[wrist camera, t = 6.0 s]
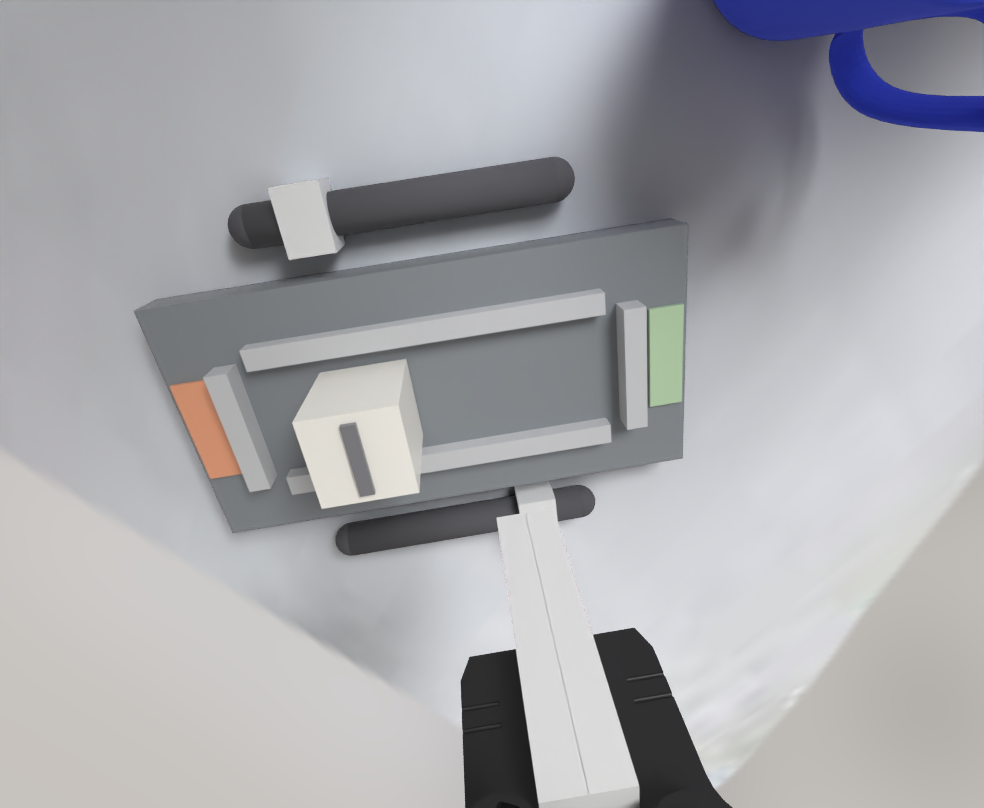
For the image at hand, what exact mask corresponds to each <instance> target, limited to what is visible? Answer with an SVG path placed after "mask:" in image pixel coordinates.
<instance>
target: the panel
mask: <svg viewBox="0 0 984 808" xmlns="http://www.w3.org/2000/svg"><path fill="white" fill-rule="evenodd" d="M687 255H688V224H687V223H683V222H680V221H676V220H673V219H665V220H659V221H653V222H646V223H640V224H633V225H627V226H621V227H614V228H608V229H602V230H595V231H589V232H583V233H576V234H570V235H563V236H557V237H551V238H544V239H538V240H532V241H525V242H519V243H513V244H506V245H500V246H493V247H487V248H481V249H474V250H468V251H462V252H455V253H449V254H442V255H436V256H430V257H423V258H417V259H411V260H404V261H398V262H392V263H385V264H379V265H372V266H366V267H360V268H353V269H347V270H341V271H334V272H328V273H321V274H315V275H309V276H302V277H296V278H290V279H283V280H277V281H271V282H264V283H258V284H251V285H245V286H239V287H232V288H226V289H220V290H213V291H207V292H200V293H194V294H188V295H181V296H175V297H169V298H162V299H156V300H154V301H152V302H151V303H149V304H147V305H145V306H143V307H141V308H139V309H137V310H135V311H134V313H135V315H136V317H137V319H138V322H139V324H140V326H141V328H142V331H143V333H144V335H145V337H146V340H147V342H148V344H149V346H150V349H151V351H152V353H153V355H154V358H155V360H156V362H157V364H158V367H159V369H160V371H161V373H162V376H163V378H164V380H165V382H166V385H167V387H168V389H169V391H170V393H171V396H172V398H173V400H174V402H175V405H176V407H177V409H178V411H179V414H180V416H181V418H182V420H183V423H184V425H185V427H186V429H187V432H188V434H189V436H190V438H191V441H192V443H193V445H194V447H195V450H196V452H197V454H198V456H199V459H200V461H201V463H202V465H203V468H204V470H205V472H206V474H207V476H208V479H209V481H210V483H211V485H212V488H213V490H214V492H215V494H216V497H217V499H218V501H219V503H220V506H221V508H222V510H223V512H224V515H225V517H226V519H227V521H228V524H229V526H230V528H231V530H232V533H236V532H242V531H248V530H254V529H260V528H266V527H272V526H278V525H284V524H290V523H296V522H302V521H308V520H314V519H320V518H326V517H332V516H338V515H344V514H350V513H356V512H362V511H368V510H374V509H380V508H386V507H392V506H398V505H404V504H410V503H416V502H422V501H428V500H435V499H441V498H447V497H453V496H459V495H465V494H471V493H477V492H483V491H489V490H495V489H501V488H507V487H513V486H519V485H525V484H531V483H537V482H543V481H549V480H555V479H561V478H567V477H573V476H579V475H585V474H591V473H597V472H603V471H609V470H615V469H621V468H627V467H633V466H639V465H645V464H651V463H657V462H663V461H669V460H675V459H681V458H683V422H684V380H685V338H686V297H687ZM402 359H406V360H407V364H408V369H409V373H410V378H411V382H412V387H413V391H414V396H415V400H416V405H417V409H418V414H419V418H420V422H421V427H422V431H423V444H422V459H421V475H420V491H419V493H415V494H409V495H403V496H397V497H391V498H385V499H379V500H373V501H367V502H361V503H355V504H349V505H343V506H337V507H331V508H325V509H322V508H321V505H320V502H319V499H318V497H317V494H316V491H315V488H314V485H313V482H312V479H311V476H310V473H309V470H308V467H307V465H306V462H305V459H304V456H303V453H302V450H301V447H300V444H299V441H298V438H297V436H296V433H295V430H294V427H293V424H292V422H293V420H294V418H295V417H296V415H297V413H298V411H299V409H300V407H301V406H302V404H303V402H304V400H305V398H306V397H307V395H308V393H309V391H310V389H311V388H312V386H313V384H314V382H315V380H316V379H317V377H318V375H319V373H321V372H327V371H333V370H339V369H345V368H352V367H358V366H364V365H370V364H377V363H383V362H389V361H395V360H402Z"/></svg>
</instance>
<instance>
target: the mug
mask: <svg viewBox="0 0 984 808" xmlns="http://www.w3.org/2000/svg"><path fill="white" fill-rule="evenodd" d="M714 2H715V4H716V6H717V8H718V9H719V11H720V12H721V13H722V15H723V16H724V17H725V18H726V19H727V21H728V22H730V23H731V24H732V25H733V26H734V27H736V28H737V29H739V30H740V31H742V32H744V33H746V34H748V35H750V36H753V37H756V38H759V39H764V40H772V41H785V40H794V39H802V38H808V37H815V36H821V35H827V34H834V33H835V36H834V38H833V40H832V42H831V45H830V50H829V62H830V68H831V74H832V76H833V79H834V82H835V85H836V87H837V89H838V91H839V92H840V94H841V95H842V97H843V98H844V99H845V101H846V102H847V103H848V104H849V105H850V106H851V107H853V108H854V109H856V110H857V111H858V112H860V113H862V114H864V115H866V116H868V117H870V118H873V119H877V120H880V121H883V122H888V123H892V124H897V125H904V126H910V127H917V128H929V129H941V130H955V131H975V132H984V96H940V95H926V94H919V93H912V92H908V91H904V90H901V89H898V88H895V87H893V86H891V85H889V84H888V83H886V82H884V81H883V80H882V79H881V78H880V77H879V76H878V75H877V74H876V73H875V71H874V70H873V69H872V67H871V65H870V63H869V62H868V59H867V56H866V53H865V49H864V44H863V29H866V28H871V27H876V26H882V25H887V24H893V23H898V22H904V21H910V20H917V19H925V18H933V17H954V16H957V17H968V18H972V19H976V20H978V21H980V22H982V23H984V0H714Z"/></svg>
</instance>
